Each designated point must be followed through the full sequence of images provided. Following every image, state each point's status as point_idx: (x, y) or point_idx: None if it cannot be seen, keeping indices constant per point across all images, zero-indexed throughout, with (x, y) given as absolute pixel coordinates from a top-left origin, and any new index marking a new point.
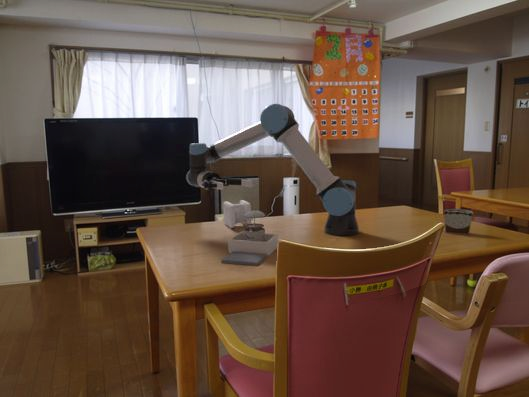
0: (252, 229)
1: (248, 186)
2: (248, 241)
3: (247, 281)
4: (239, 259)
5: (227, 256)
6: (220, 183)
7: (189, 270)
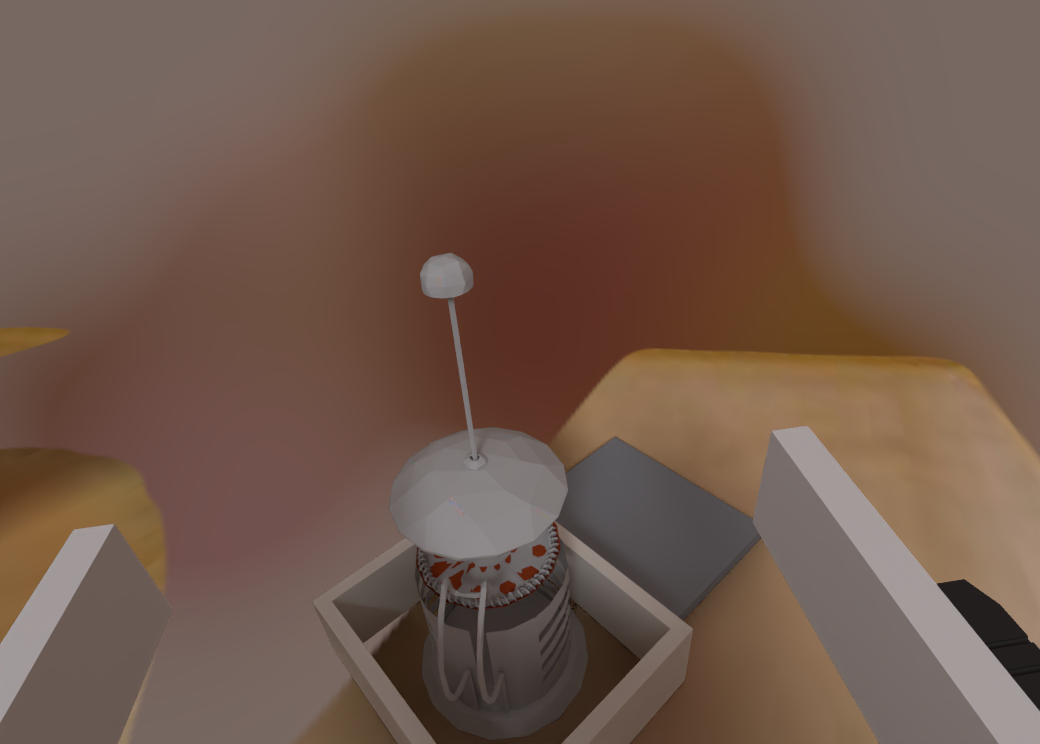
0: (466, 640)
1: (139, 670)
2: (578, 539)
3: (704, 358)
4: (673, 495)
5: (721, 557)
6: (824, 461)
7: (930, 501)
